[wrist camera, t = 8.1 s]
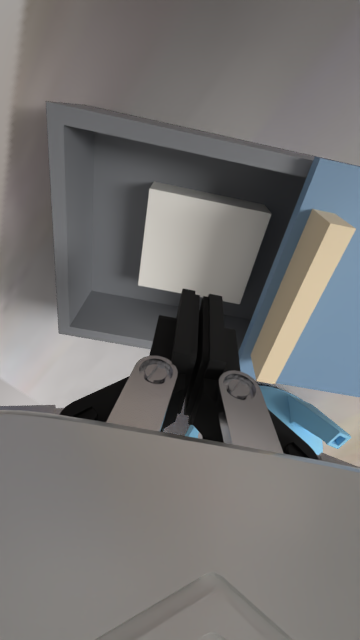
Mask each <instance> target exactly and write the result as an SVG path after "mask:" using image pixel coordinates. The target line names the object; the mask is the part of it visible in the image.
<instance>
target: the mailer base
mask: <svg viewBox="0 0 360 640" xmlns="http://www.w3.org/2000/svg"><path fill="white" fill-rule="evenodd" d="M46 114H47V132H48V150H49V168H50V186H51V204H52V222H53V240H54V258H55V275H56V293H57V311H58V329H59V334H65V335H70V336H76V337H82V338H88V339H94V340H99V341H105V342H111V343H117V344H123V345H128V346H134V347H140V348H146V349H151V347H152V343H153V339H154V334H155V330H156V326H157V321H158V317H159V315H163V316H168V317H173V318H176V316H177V312H178V307H179V302H180V298H181V293H182V289H188V290H194V291H195V294H196V295H200V302H199V310H200V306H201V302H202V299H203V296H206V297H208V295H209V294H214V295H219V296H222V300H223V313H224V327H225V328H229V329H234V330H235V331H236V338H237V346H238V352H239V349H240V347H241V344H242V342H243V339H244V337H245V334H246V332H247V329H248V326H249V324H250V321H251V319H252V316H253V314H254V311H255V308H256V306H257V303H258V301H259V298H260V296H261V293H262V291H263V288H264V285H265V283H266V280H267V278H268V275H269V273H270V270H271V268H272V265H273V262H274V260H275V257H276V255H277V252H278V250H279V247H280V244H281V242H282V239H283V237H284V234H285V232H286V229H287V227H288V224H289V221H290V219H291V216H292V214H293V211H294V209H295V206H296V204H297V201H298V198H299V196H300V193H301V191H302V188H303V186H304V183H305V180H306V178H307V175H308V173H309V170H310V168H311V165H312V163H313V160H314V157H316V156H311V155H307V154H302V153H298V152H294V151H289V150H285V149H280V148H276V147H271V146H267V145H262V144H258V143H253V142H249V141H244V140H240V139H235V138H231V137H226V136H222V135H217V134H213V133H208V132H204V131H199V130H195V129H190V128H186V127H181V126H177V125H173V124H168V123H164V122H159V121H155V120H150V119H146V118H141V117H137V116H132V115H128V114H123V113H119V112H114V111H110V110H105V109H101V108H96V107H92V106H87V105H80V104H70V103H59V102H49V101H46ZM324 159H325V158H324ZM333 161H334V160H333ZM342 163H343V162H342ZM351 165H352V164H351Z"/></svg>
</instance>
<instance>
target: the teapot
mask: <svg viewBox="0 0 360 640" xmlns="http://www.w3.org/2000/svg"><path fill="white" fill-rule="evenodd" d="M259 387H260V389H261V392H262V395H263V397H264V400H265V403H266V406H267V409H269V410H270V411H271V412H272V413H273V414H274V415H275V416H277V417H278V418H279V419H280V420H281V421H282V422H283V423H284V424H286V425H287V426H288V427H289V428H290V429H291V430H292V431H293V432H295V433H296V434H297V435H298V436H299V437H300V438H301V439H303V440H304V441H305V442H306V443H307V444H308V445H309V446H310V447H311V448H312V449H313V450H314V452H315V453H316V454H317V455H319V454H320V453H323V445H322V440H323V441H325V442H326V444H327V445H329V446H332V447H334V448H337V449H338V448H340V447H341V446H342V445H343V444H344V443H345V442H347V441H348V440H349V439H350V438H351V436H350V435H349V434H348V433H347V432H345V431H344V430H343V429H342V428H340V427H339V426H338V425H337V424H335V423H334V422H333V421H332V420H330V419H329V418H328V417H327V416H325V415H324V414H323V413H322V412H320V411H319V410H318V409H317V408H316V407H314V406H313V405H311V404H309V403H307V402H305V401H303V400H301V399H300V398H298V397H297V396H295V395H293V394H290V393H288V392H286V391H283V390H280V389H277V388H274V387H269V386H262V385H259ZM198 434H199V431H198V430H197V429H196V428H195V427H194V426H193V425H190V427H189V429H188V431H187V433H186V434H185V436H188V437H194V438H198Z"/></svg>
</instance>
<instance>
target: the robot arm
mask: <svg viewBox="0 0 360 640" xmlns="http://www.w3.org/2000/svg"><path fill="white" fill-rule="evenodd" d="M199 302H200V295H196V294H195V291H194V290H188V289H182V293H181V298H180V302H179V307H178V312H177V316H176V318H173V317H168V316H163V315H159V317H158V321H157V326H156V330H155V334H154V339H153V343H152V347H151V351H150V356H147V357H143V358H142V359H140V360H139V361H138V362H137V363H136V365H135V367H134V369H133V371H132V372H131V374H130V376H129V377H127V378H125V379H122V380H120V381H118V382H116V383H114V384H112V385H109V386H107V387H105V388H103V389H101V390H98V391H96V392H94V393H92V394H90V395H88V396H85V397H83V398H81V399H79V400H77V401H74V402H72V403H71V404H69V405H68V406H66V407H65V408H56V407H55V405H34V406H33V405H32V406H0V640H360V467H357V466H355V465H352V464H349V463H347V462H344V461H342V460H339V459H337V458H334V457H332V456H329V455H326V454H324V453H320V454H319V455H317V454H316V453H315V452H314V450H313V449H312V448H311V447H310V446H309V445H308V444H307V443H306V442H305V441H304V440H303V439H301V438H300V437H299V436H298V435H297V434H296V433H295V432H293V431H292V430H291V429H290V428H289V427H288V426H287V425H286V424H284V423H283V422H282V421H281V420H280V419H279V418H278V417H277V416H275V415H274V414H273V413H272V412H271V411H270V410H269V409H267V406H266V403H265V400H264V397H263V395H262V392H261V389H260V387H259V385H258V383H257V382H256V381H255V380H254V379H253V378H252V377H251V376H249V375H248V374H246V373H243V372H241V371H240V362H239V354H238V346H237V338H236V331H235V330H234V329H229V328H225V327H224V313H223V300H222V296H219V295H214V294H209V295H208V297H206V296H203V299H202V302H201V306H200V310H199ZM184 399H185V408H184V415H189V423H188V424H189V425H193V426H194V427H195V428H196V429H197V430H198V431H199V434H198V438H194V437H188V436H182V435H177V434H171V433H165V432H163V430H164V428H165V427H167V426H169V425H170V424H172V423H173V422H175V420H176V417H177V413H178V414H180V413H181V409H182V406H183V403H184Z"/></svg>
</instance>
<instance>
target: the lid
mask: <svg viewBox="0 0 360 640" xmlns="http://www.w3.org/2000/svg"><path fill="white" fill-rule="evenodd" d="M238 354H239V362H240V371H241V372H243V373H246V374H248V375H249V376H251V377H252V378H253V379H256V381H259V382H264V383H270V384H275V383H279V384H285V385H291V386H297V387H303V388H308V389H314V390H320V391H326V392H332V393H338V394H344V395H349V396H355V397H360V166H356V165H351V164H347V163H342V162H338V161H333V160H329V159H324V158H320V157H314V160H313V163H312V165H311V168H310V170H309V173H308V175H307V178H306V180H305V183H304V186H303V188H302V191H301V193H300V196H299V198H298V201H297V204H296V206H295V209H294V211H293V214H292V216H291V219H290V221H289V224H288V227H287V229H286V232H285V234H284V237H283V239H282V242H281V244H280V247H279V250H278V252H277V255H276V257H275V260H274V262H273V265H272V268H271V270H270V273H269V275H268V278H267V280H266V283H265V285H264V288H263V291H262V293H261V296H260V298H259V301H258V303H257V306H256V308H255V311H254V314H253V316H252V319H251V321H250V324H249V326H248V329H247V332H246V334H245V337H244V339H243V342H242V344H241V347H240V349H239V352H238Z"/></svg>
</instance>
